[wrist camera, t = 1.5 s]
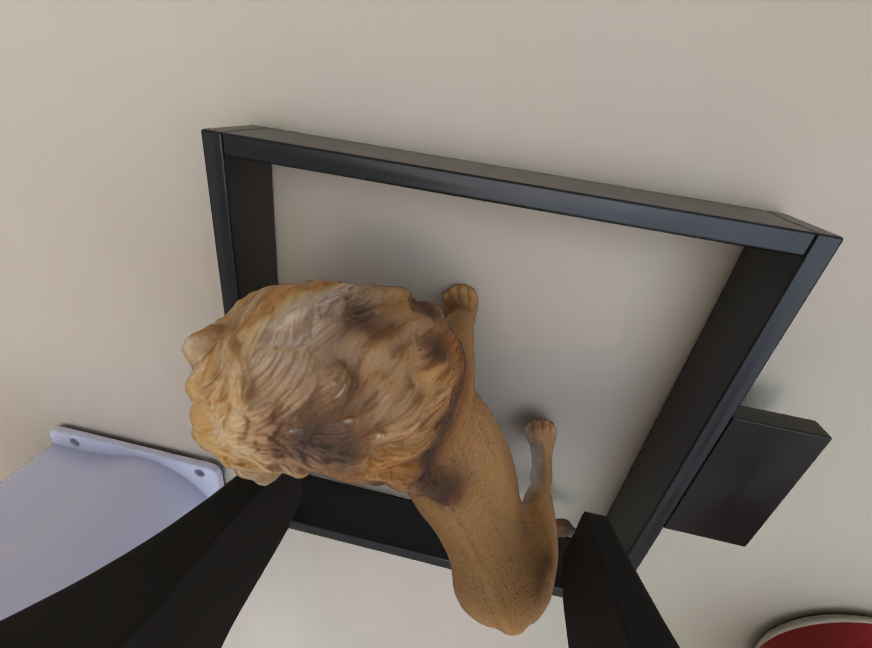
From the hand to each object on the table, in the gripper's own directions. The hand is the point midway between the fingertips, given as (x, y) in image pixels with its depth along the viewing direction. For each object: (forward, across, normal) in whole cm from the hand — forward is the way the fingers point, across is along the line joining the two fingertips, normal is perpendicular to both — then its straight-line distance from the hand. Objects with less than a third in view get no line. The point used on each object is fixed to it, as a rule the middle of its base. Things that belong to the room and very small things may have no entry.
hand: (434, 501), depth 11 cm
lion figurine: (+6, 0, 0) cm, 6 cm away
